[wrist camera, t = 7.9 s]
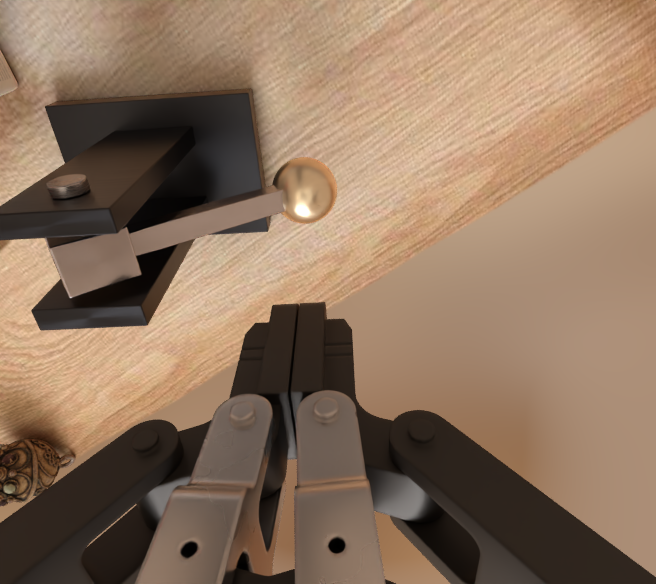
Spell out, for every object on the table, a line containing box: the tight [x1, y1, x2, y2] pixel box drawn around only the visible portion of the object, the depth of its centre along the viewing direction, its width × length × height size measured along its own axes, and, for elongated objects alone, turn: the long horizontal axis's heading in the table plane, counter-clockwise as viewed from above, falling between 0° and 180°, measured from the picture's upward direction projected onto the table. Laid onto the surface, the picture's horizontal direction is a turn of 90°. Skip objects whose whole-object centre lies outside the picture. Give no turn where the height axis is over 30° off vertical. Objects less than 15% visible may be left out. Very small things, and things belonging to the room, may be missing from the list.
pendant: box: [0, 439, 75, 506], centre depth 40 cm, size 5×8×5 cm
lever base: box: [0, 89, 270, 330], centre depth 23 cm, size 11×8×13 cm
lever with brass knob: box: [45, 157, 337, 298], centre depth 22 cm, size 13×3×3 cm
